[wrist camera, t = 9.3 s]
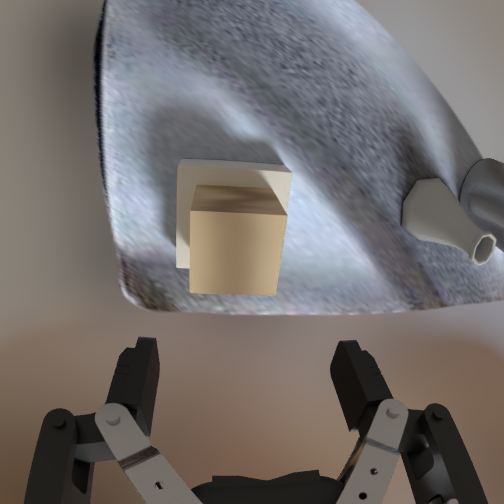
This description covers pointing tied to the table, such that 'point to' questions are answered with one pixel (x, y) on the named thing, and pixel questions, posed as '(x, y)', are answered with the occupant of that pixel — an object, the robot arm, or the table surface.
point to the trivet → (221, 175)
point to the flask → (444, 220)
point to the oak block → (235, 240)
